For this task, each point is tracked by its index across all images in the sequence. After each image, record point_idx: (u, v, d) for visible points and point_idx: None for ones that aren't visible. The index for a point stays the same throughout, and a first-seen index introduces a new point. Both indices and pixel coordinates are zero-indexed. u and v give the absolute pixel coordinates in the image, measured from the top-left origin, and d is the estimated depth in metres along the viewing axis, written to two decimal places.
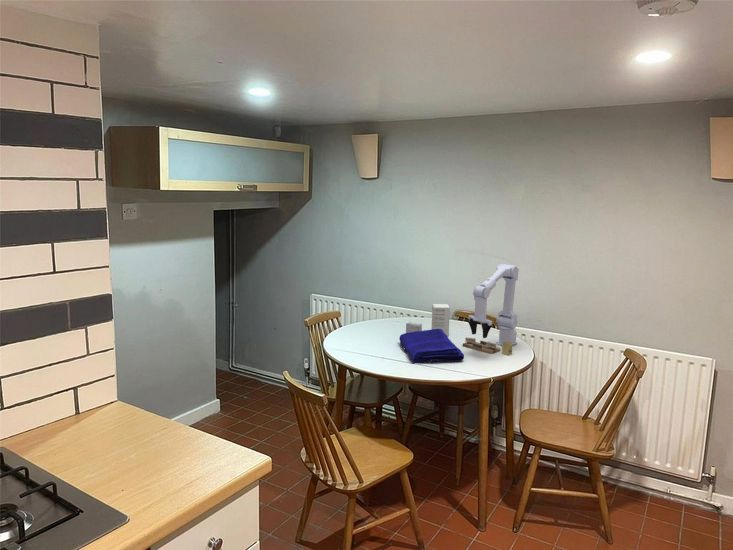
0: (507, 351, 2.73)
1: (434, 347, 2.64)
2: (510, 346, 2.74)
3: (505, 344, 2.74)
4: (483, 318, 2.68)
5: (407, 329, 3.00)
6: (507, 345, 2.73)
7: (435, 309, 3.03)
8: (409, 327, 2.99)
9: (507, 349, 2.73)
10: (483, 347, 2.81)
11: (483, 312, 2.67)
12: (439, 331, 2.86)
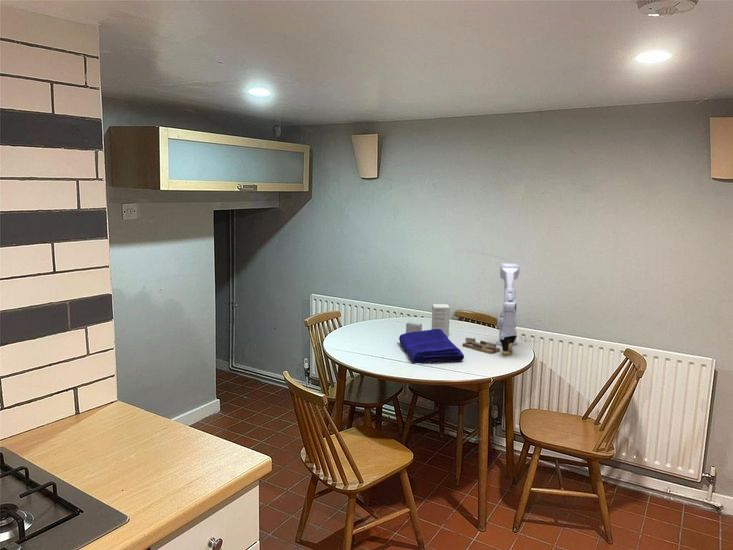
0: (507, 351, 2.73)
1: (434, 347, 2.64)
2: (510, 346, 2.74)
3: None
4: (504, 332, 2.72)
5: (407, 329, 3.00)
6: None
7: (435, 309, 3.03)
8: (409, 327, 2.99)
9: None
10: (483, 347, 2.81)
11: (504, 326, 2.72)
12: (439, 331, 2.86)
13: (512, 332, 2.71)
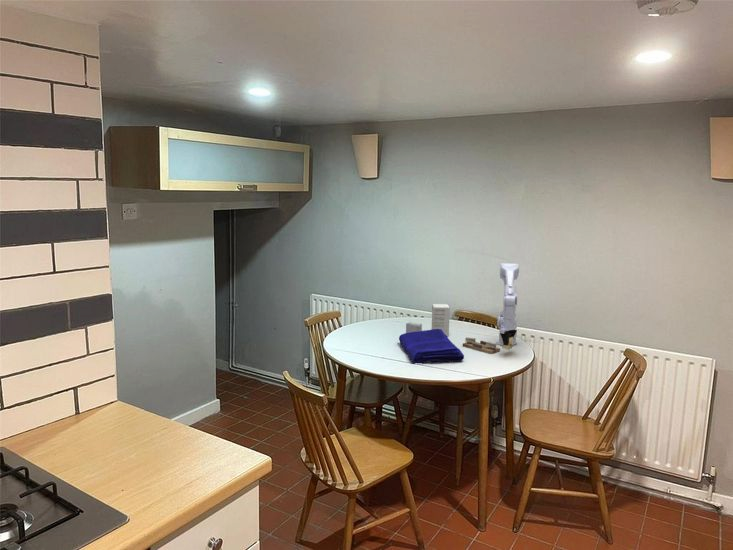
0: None
1: (434, 347, 2.64)
2: (510, 340, 2.73)
3: None
4: (505, 326, 2.72)
5: (407, 329, 3.00)
6: None
7: (435, 309, 3.03)
8: (409, 327, 2.99)
9: None
10: (483, 347, 2.81)
11: (505, 320, 2.71)
12: (439, 331, 2.86)
13: (512, 326, 2.71)
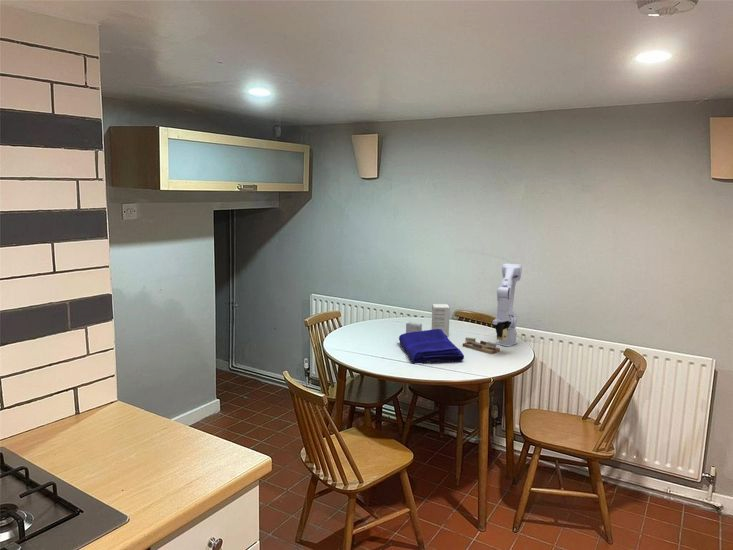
0: (501, 337, 2.74)
1: (434, 347, 2.64)
2: (504, 332, 2.74)
3: None
4: (498, 317, 2.73)
5: (407, 329, 3.00)
6: None
7: (435, 309, 3.03)
8: (409, 327, 2.99)
9: None
10: (483, 347, 2.81)
11: (498, 311, 2.73)
12: (439, 331, 2.86)
13: (506, 318, 2.72)
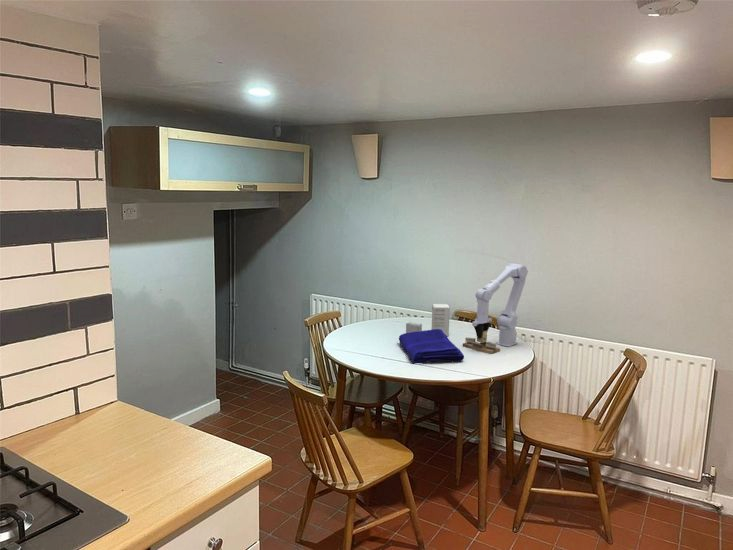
0: (481, 339, 2.81)
1: (434, 347, 2.64)
2: (484, 334, 2.81)
3: None
4: (478, 319, 2.80)
5: (407, 329, 3.00)
6: None
7: (435, 309, 3.03)
8: (409, 327, 2.99)
9: (481, 337, 2.80)
10: (483, 347, 2.81)
11: (478, 313, 2.79)
12: (439, 331, 2.86)
13: (485, 319, 2.79)
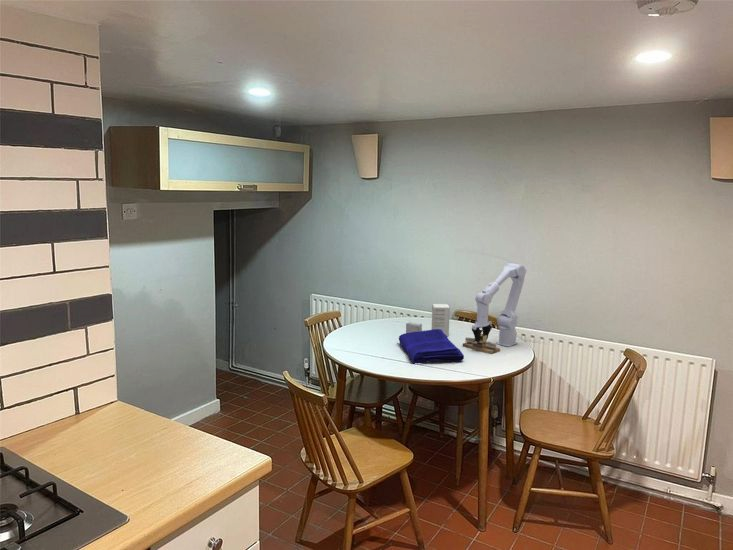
0: (481, 343, 2.81)
1: (434, 347, 2.64)
2: (484, 338, 2.81)
3: None
4: (478, 323, 2.80)
5: (407, 329, 3.00)
6: (481, 337, 2.81)
7: (435, 309, 3.03)
8: (409, 327, 2.99)
9: (481, 341, 2.81)
10: (483, 347, 2.81)
11: (478, 317, 2.80)
12: (439, 331, 2.85)
13: (485, 323, 2.79)
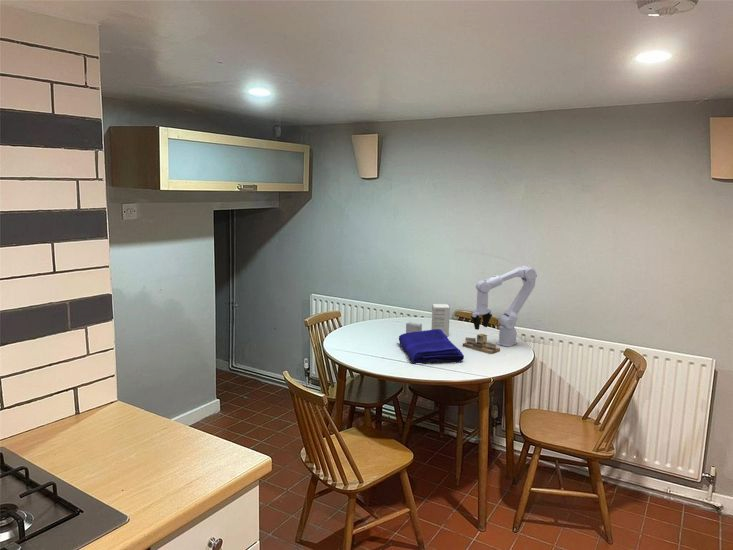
0: (481, 343, 2.81)
1: (434, 347, 2.63)
2: (484, 338, 2.81)
3: (479, 336, 2.81)
4: (478, 310, 2.85)
5: (407, 329, 3.00)
6: (481, 337, 2.81)
7: (435, 309, 3.03)
8: (409, 327, 2.99)
9: (481, 341, 2.81)
10: (483, 347, 2.81)
11: (478, 305, 2.85)
12: (438, 331, 2.85)
13: (485, 311, 2.84)
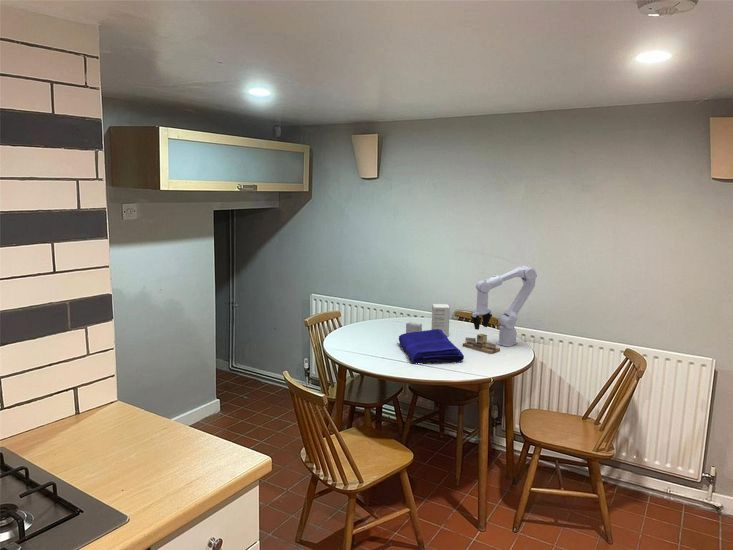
0: (481, 343, 2.81)
1: (434, 347, 2.63)
2: (484, 338, 2.81)
3: (479, 336, 2.81)
4: (478, 310, 2.85)
5: (407, 329, 3.00)
6: (481, 337, 2.81)
7: (435, 309, 3.03)
8: (409, 327, 2.99)
9: (481, 341, 2.81)
10: (483, 347, 2.81)
11: (478, 305, 2.85)
12: (438, 331, 2.85)
13: (485, 311, 2.84)
